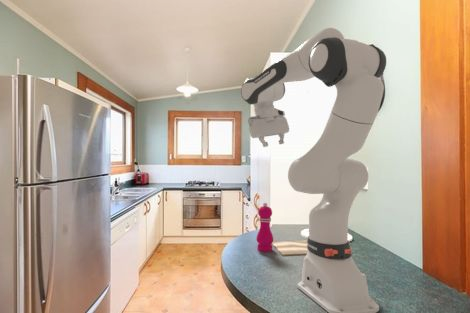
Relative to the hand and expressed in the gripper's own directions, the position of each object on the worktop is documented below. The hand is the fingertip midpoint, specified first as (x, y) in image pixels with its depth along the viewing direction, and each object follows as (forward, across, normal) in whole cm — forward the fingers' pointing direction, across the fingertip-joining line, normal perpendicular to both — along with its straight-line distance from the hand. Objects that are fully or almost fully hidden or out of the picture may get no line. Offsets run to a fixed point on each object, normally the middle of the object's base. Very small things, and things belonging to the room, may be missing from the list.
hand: (274, 145), depth 111 cm
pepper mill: (+43, -12, +10) cm, 45 cm away
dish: (+50, +28, +11) cm, 58 cm away
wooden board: (+46, +2, +5) cm, 46 cm away
